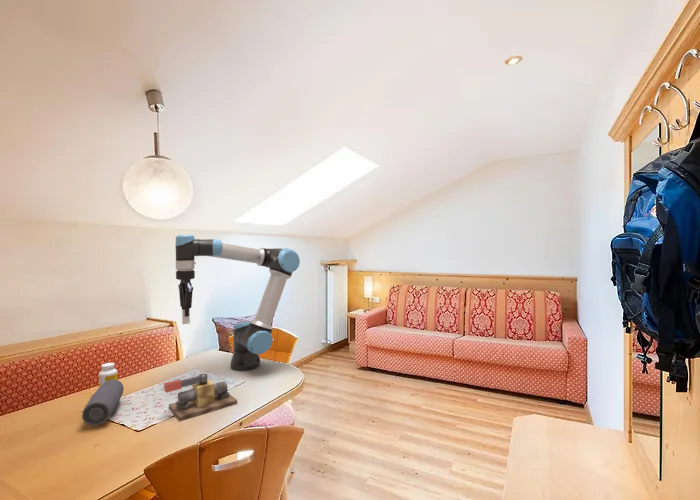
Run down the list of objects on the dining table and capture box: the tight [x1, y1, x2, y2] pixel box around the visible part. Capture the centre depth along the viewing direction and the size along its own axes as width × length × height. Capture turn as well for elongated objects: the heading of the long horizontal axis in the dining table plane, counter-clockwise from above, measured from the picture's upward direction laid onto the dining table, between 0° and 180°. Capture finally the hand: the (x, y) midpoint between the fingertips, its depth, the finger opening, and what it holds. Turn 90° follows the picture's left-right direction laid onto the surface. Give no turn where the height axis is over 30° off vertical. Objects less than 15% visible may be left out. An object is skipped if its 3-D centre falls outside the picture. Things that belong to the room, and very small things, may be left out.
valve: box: [168, 378, 238, 422], centre depth 147 cm, size 22×14×9 cm, turn 131°
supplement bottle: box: [98, 362, 119, 388], centre depth 158 cm, size 7×7×13 cm
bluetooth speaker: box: [81, 380, 124, 427], centre depth 140 cm, size 23×9×10 cm, turn 21°
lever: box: [163, 373, 208, 394], centre depth 143 cm, size 16×3×3 cm, turn 131°
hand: (186, 323), depth 162 cm, fingers closed
